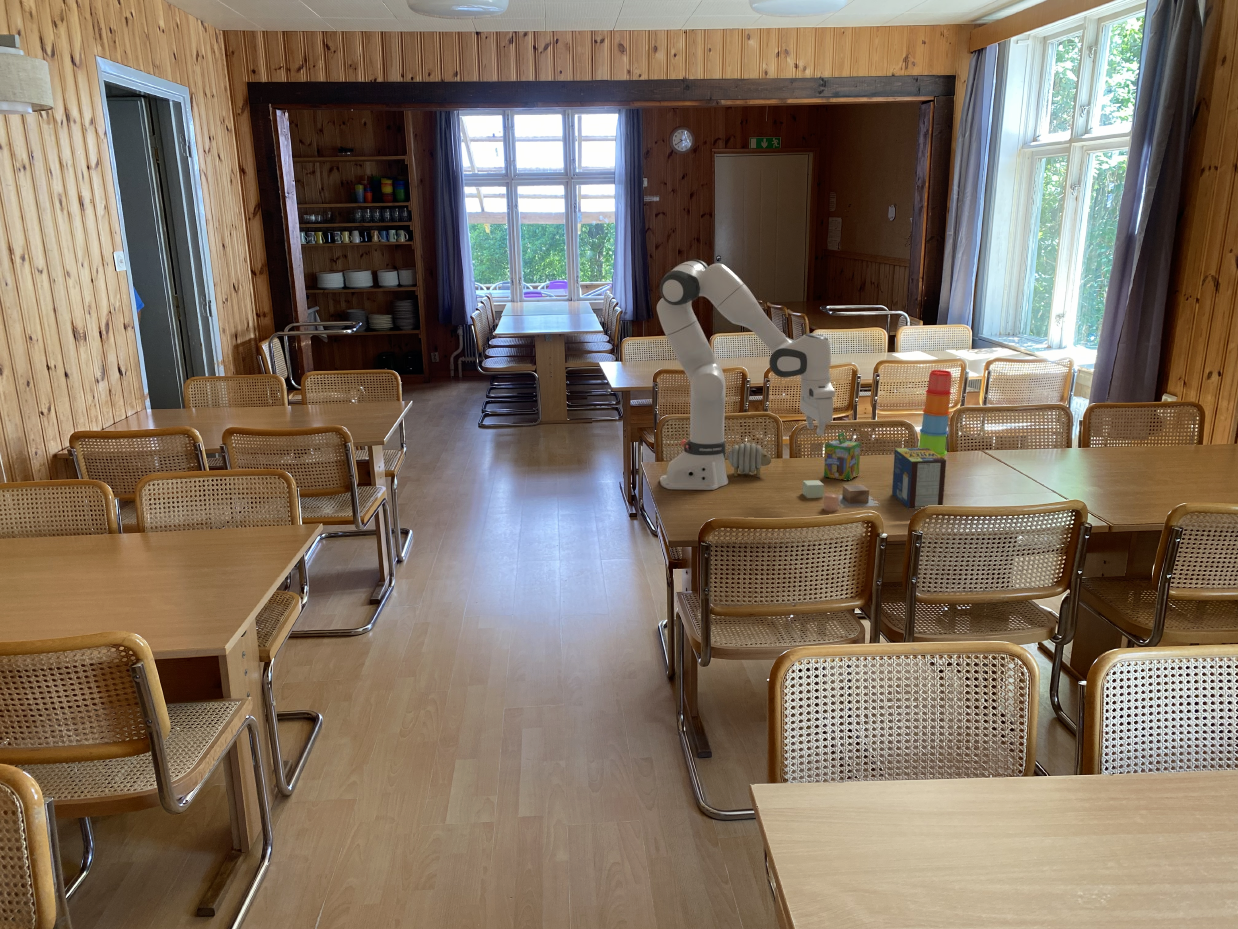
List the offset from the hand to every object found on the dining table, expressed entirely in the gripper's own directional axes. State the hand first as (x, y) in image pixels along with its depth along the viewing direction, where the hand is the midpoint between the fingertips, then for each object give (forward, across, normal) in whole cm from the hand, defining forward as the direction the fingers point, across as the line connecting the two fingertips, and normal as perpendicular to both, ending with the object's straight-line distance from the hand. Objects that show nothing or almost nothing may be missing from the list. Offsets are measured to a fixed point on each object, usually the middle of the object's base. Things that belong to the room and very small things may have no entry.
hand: (815, 431), depth 277 cm
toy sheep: (+20, -26, -15) cm, 37 cm away
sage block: (+20, +3, -2) cm, 21 cm away
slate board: (+21, +10, +9) cm, 25 cm away
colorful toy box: (+21, -19, +16) cm, 32 cm away
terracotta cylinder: (+20, +17, -1) cm, 26 cm away
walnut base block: (+20, +10, +9) cm, 24 cm away
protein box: (+22, +13, +27) cm, 37 cm away
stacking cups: (+22, -20, +47) cm, 55 cm away
